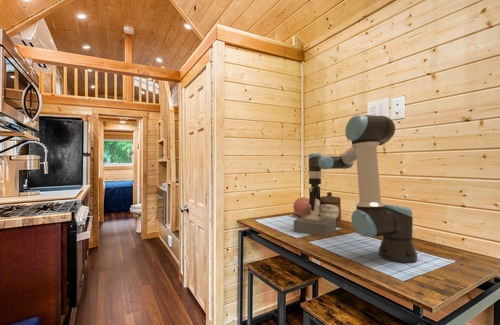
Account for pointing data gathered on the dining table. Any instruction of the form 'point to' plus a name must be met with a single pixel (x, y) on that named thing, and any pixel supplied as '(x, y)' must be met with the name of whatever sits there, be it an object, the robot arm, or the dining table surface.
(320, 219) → the tan square tile
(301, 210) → the balloon
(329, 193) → the wooden container
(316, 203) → the lightbulb
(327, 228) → the socket block
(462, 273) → the dining table surface
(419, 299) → the dining table surface
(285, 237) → the dining table surface
